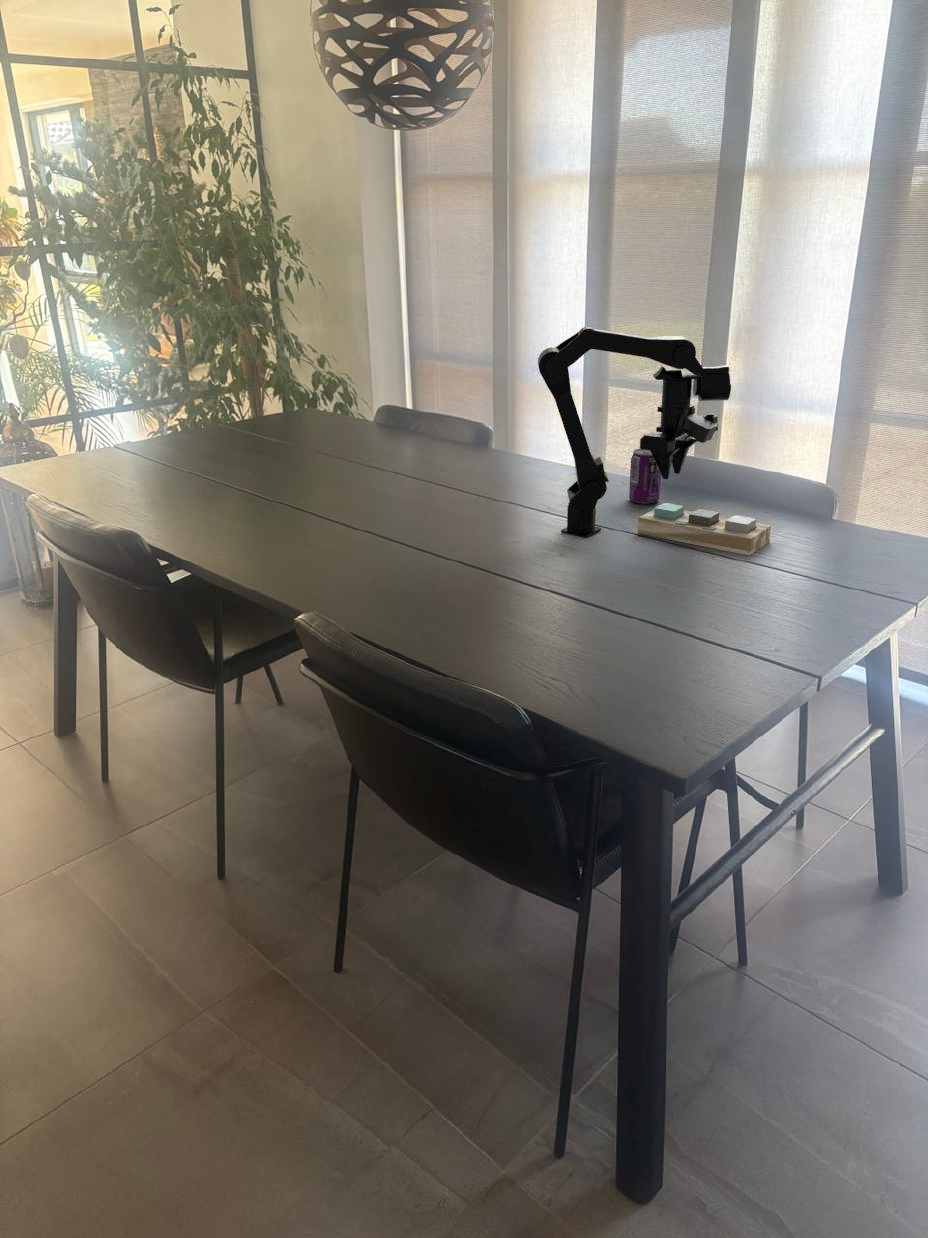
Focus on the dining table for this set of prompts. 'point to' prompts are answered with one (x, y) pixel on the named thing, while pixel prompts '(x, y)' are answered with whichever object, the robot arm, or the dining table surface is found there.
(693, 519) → the gray square block
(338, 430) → the dining table surface
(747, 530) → the key grey
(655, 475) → the beverage can
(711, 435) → the robot arm
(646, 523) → the wooden key base
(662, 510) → the key teal
